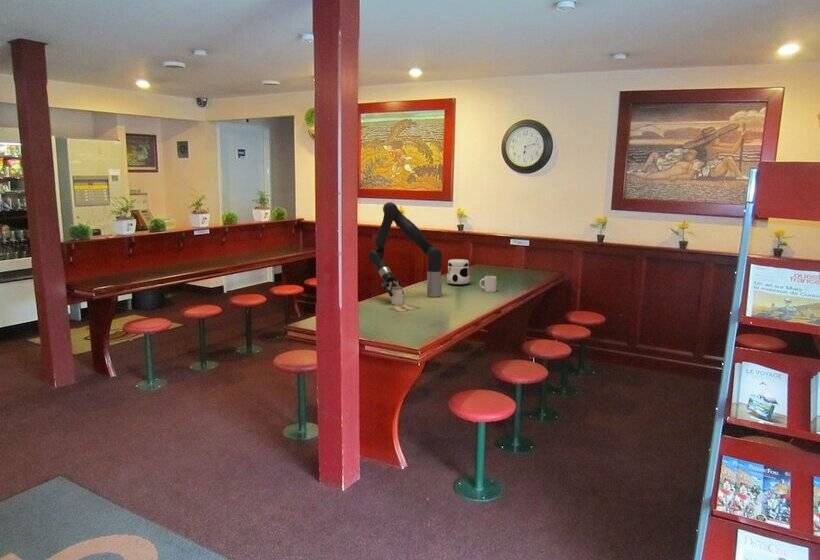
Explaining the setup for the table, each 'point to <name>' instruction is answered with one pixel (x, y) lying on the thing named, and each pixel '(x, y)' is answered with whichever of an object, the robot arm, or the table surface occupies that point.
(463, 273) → the milk container
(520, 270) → the table surface
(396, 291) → the canister
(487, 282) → the mug
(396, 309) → the mat
